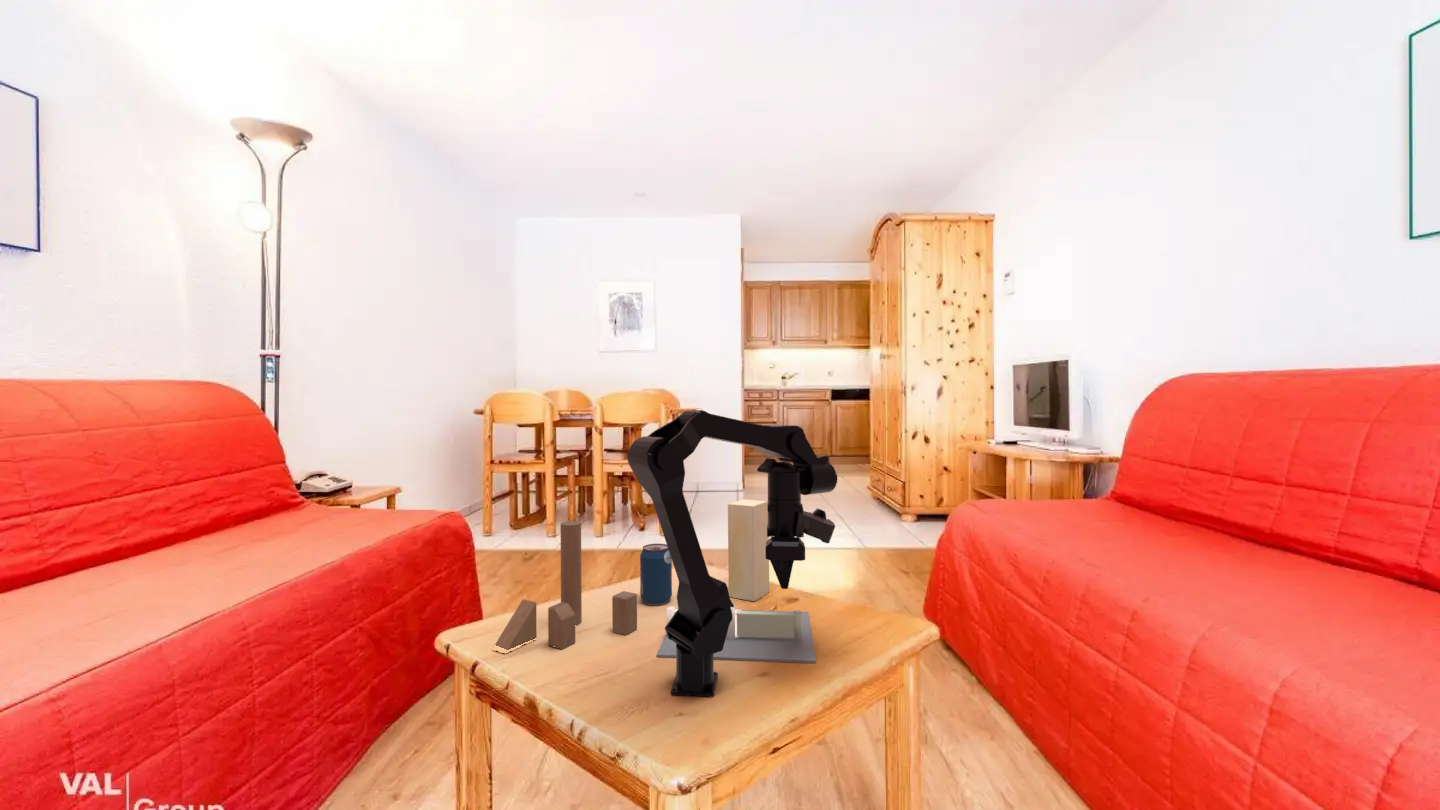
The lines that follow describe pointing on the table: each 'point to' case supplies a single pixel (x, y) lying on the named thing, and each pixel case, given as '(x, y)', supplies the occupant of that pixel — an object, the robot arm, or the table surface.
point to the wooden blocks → (567, 602)
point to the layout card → (755, 644)
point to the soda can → (655, 574)
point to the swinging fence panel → (769, 624)
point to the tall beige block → (748, 549)
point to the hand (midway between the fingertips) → (784, 588)
